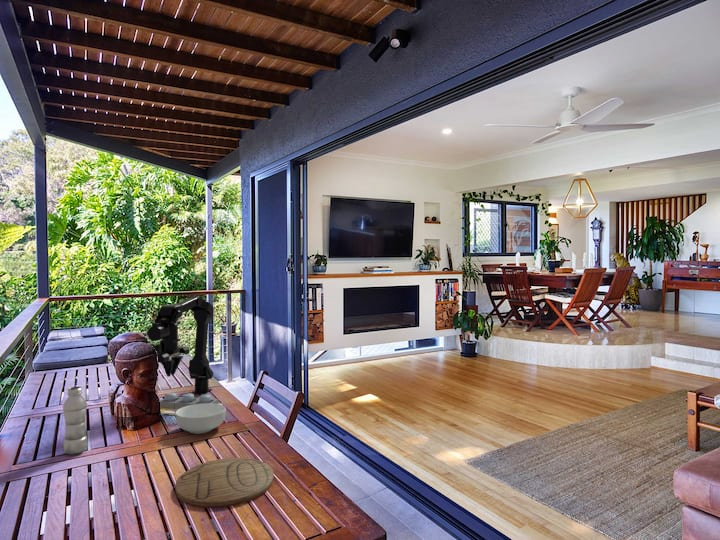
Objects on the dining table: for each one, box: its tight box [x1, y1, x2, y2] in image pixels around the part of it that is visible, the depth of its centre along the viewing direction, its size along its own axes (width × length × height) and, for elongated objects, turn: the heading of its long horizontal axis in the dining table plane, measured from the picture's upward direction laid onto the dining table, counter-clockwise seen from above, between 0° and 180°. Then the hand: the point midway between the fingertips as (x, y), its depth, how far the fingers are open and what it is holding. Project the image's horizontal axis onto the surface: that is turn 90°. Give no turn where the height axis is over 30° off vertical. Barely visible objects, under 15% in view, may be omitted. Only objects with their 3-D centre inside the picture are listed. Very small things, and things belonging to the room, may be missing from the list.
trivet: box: [174, 457, 275, 509], centre depth 124 cm, size 25×25×2 cm
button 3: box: [198, 393, 212, 404], centre depth 185 cm, size 4×4×3 cm
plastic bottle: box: [62, 386, 89, 455], centre depth 144 cm, size 6×7×20 cm
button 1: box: [164, 392, 178, 402], centre depth 187 cm, size 4×4×3 cm
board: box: [158, 396, 224, 416], centre depth 185 cm, size 14×24×3 cm, turn 79°
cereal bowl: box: [174, 403, 227, 435], centre depth 163 cm, size 17×17×7 cm
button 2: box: [181, 392, 195, 403], centre depth 186 cm, size 4×4×3 cm
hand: (170, 375), depth 187 cm, fingers open, 3 cm apart
